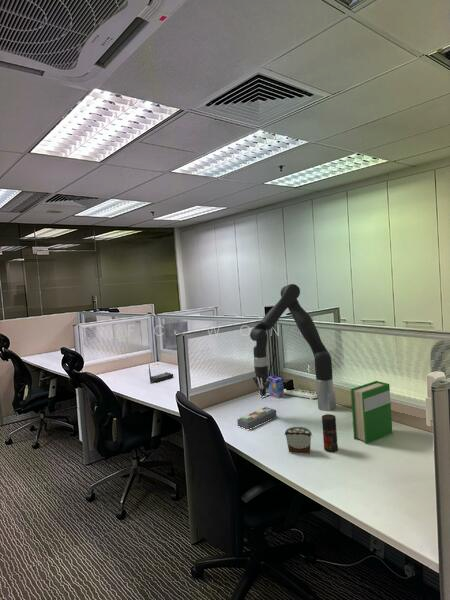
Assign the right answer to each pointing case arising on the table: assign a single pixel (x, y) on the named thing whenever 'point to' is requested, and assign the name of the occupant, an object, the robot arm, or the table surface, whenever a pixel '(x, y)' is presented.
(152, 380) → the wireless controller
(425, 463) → the table surface
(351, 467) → the table surface
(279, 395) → the ink cartridge box
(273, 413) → the keyguard
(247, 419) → the key sage
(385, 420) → the hardback book
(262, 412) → the key sand
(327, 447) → the deodorant
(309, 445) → the food container
